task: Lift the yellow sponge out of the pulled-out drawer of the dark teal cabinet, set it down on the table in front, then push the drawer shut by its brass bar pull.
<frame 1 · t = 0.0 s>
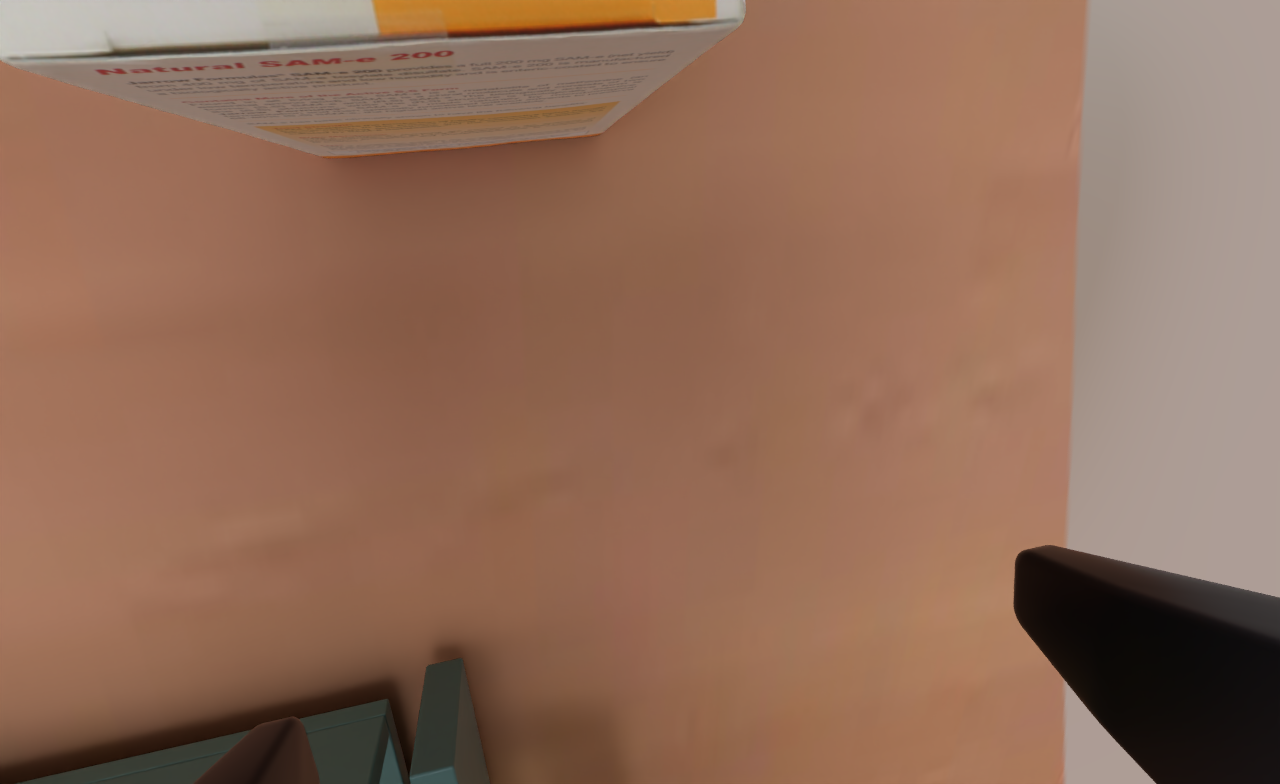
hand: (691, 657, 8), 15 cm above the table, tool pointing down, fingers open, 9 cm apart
supplement box: (450, 61, 19), on the table
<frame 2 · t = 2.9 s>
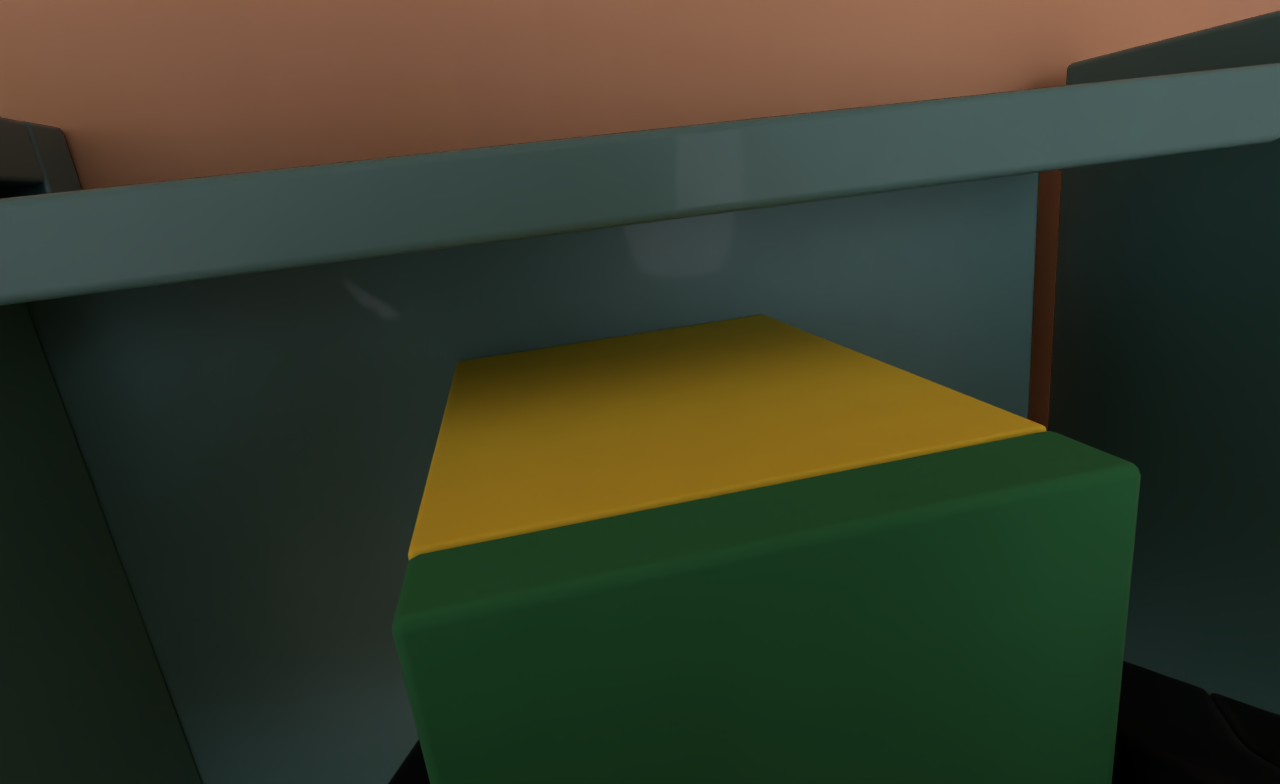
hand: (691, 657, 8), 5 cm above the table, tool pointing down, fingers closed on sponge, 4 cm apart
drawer: (845, 551, 10), point 3 cm above the table, slide at 15.5 cm, touching sponge
sponge: (642, 549, 11), point 2 cm above the table, touching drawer, gripper
when the fingers open (3 cm above the table, at t = 8.2 s): sponge stays where it is, on the table.
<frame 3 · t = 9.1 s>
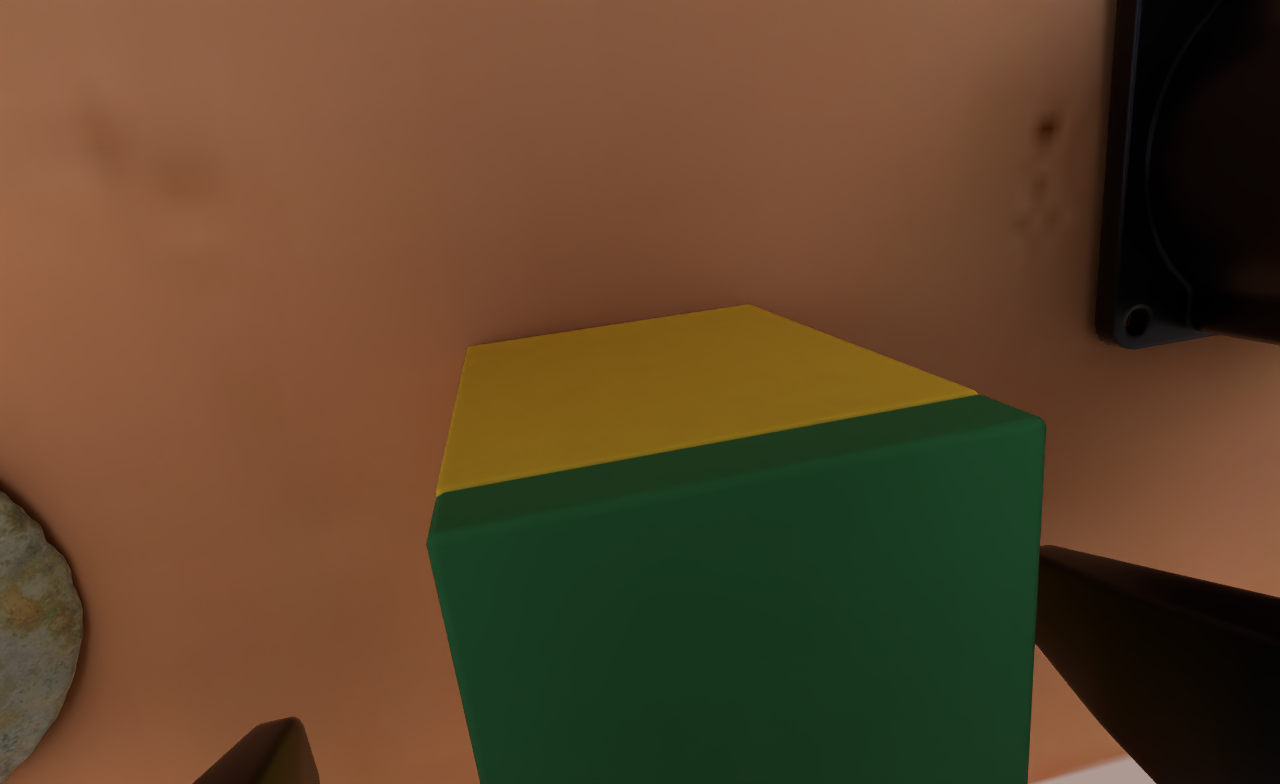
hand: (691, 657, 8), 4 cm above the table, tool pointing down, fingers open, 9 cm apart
sponge: (638, 522, 12), on the table
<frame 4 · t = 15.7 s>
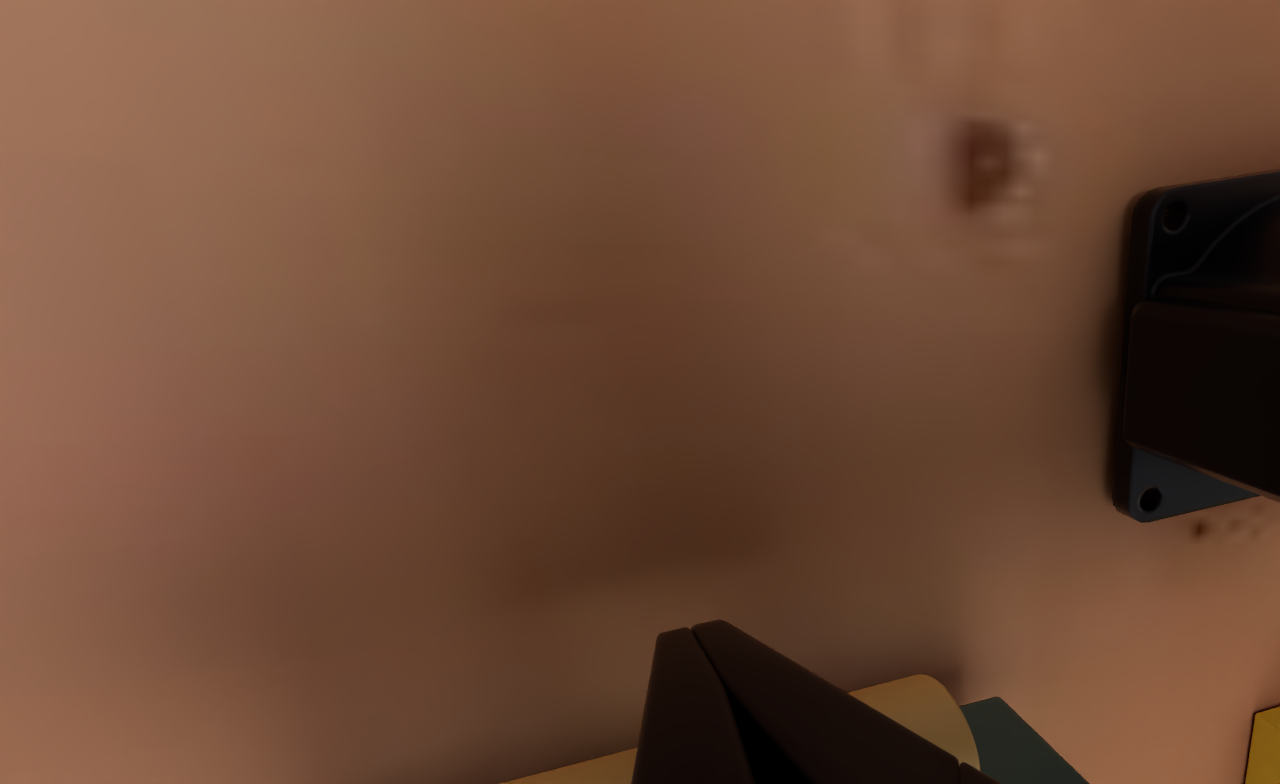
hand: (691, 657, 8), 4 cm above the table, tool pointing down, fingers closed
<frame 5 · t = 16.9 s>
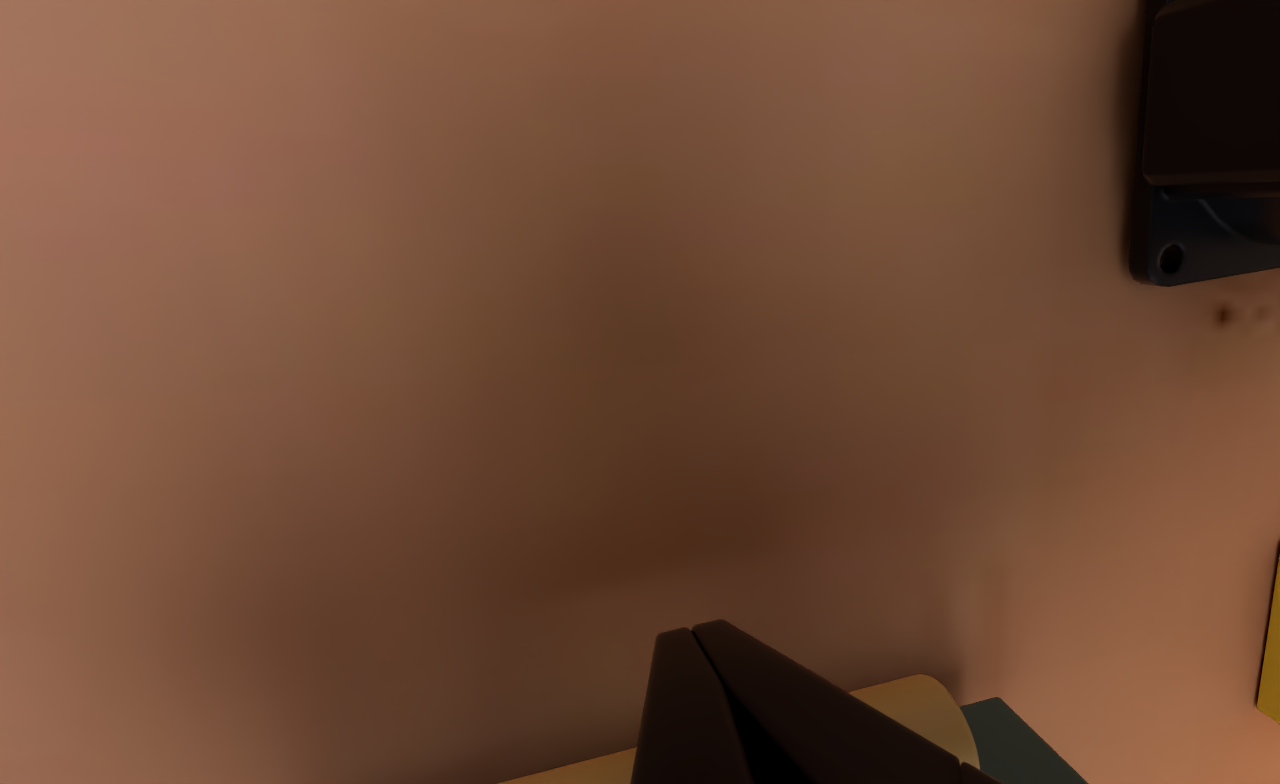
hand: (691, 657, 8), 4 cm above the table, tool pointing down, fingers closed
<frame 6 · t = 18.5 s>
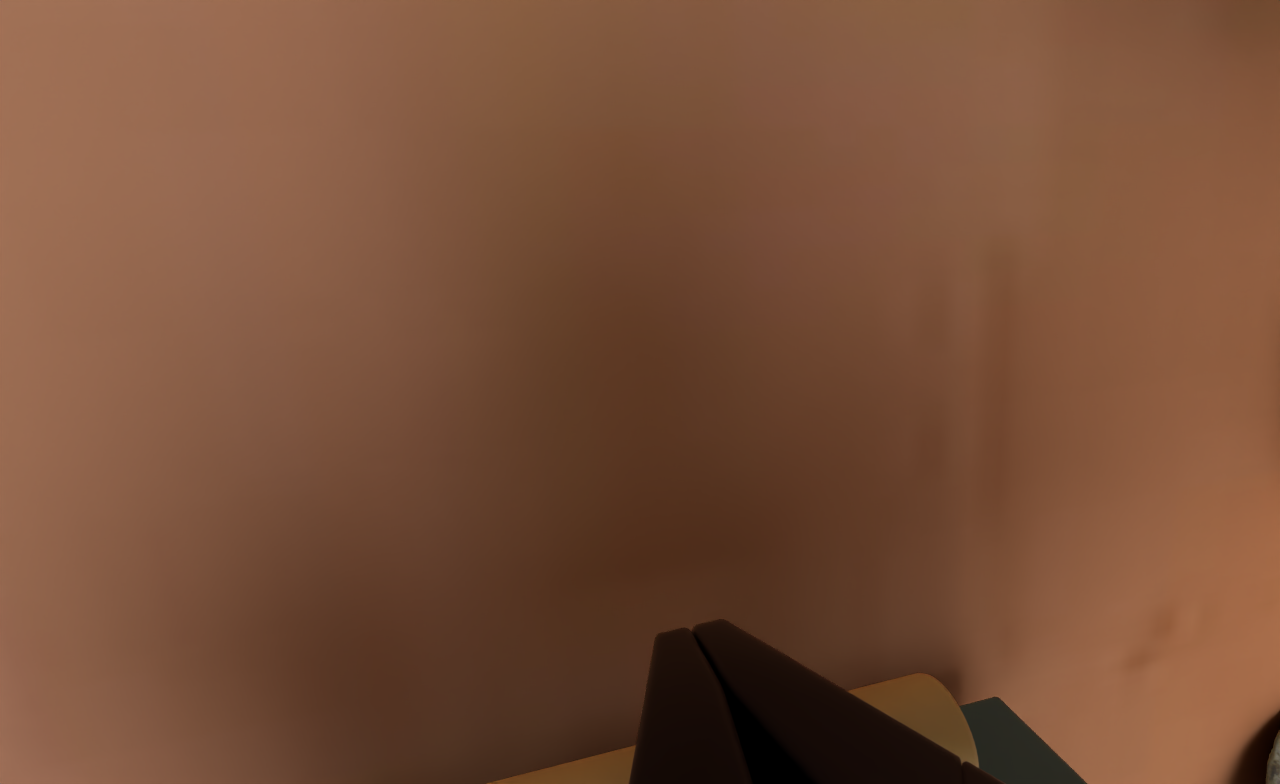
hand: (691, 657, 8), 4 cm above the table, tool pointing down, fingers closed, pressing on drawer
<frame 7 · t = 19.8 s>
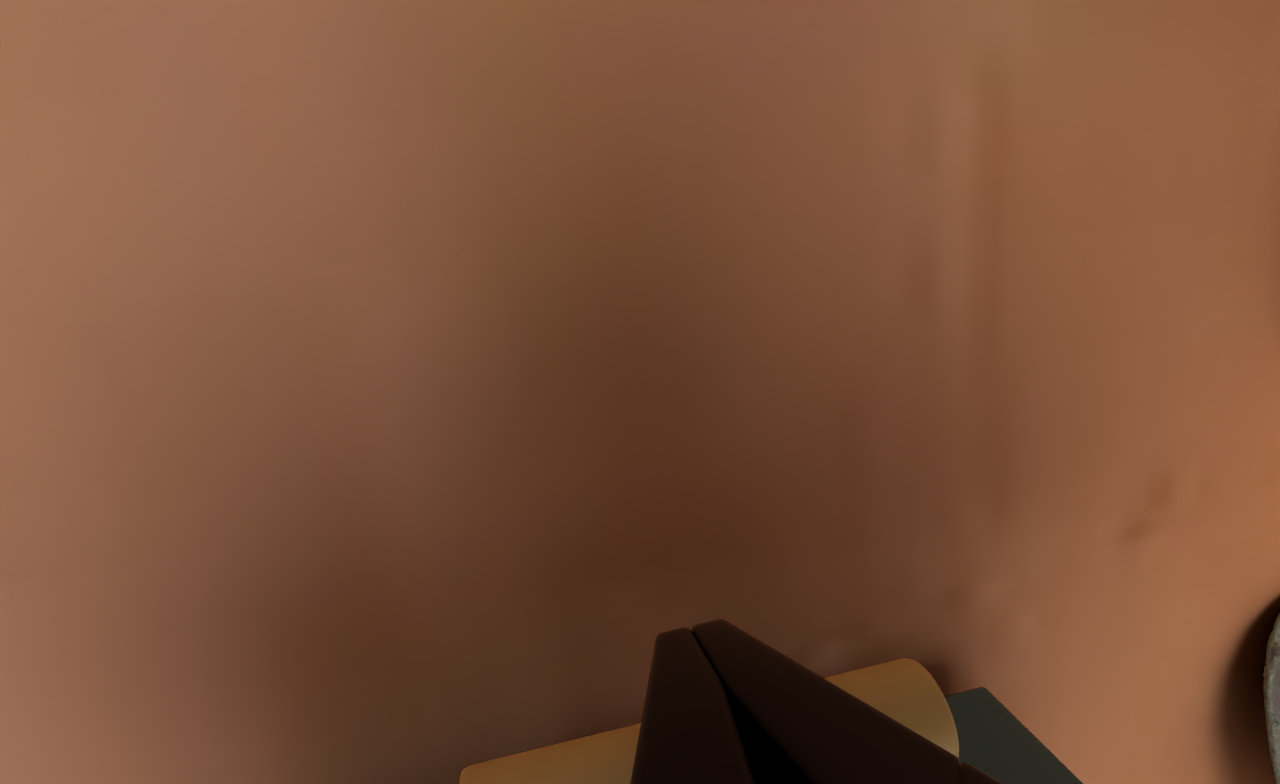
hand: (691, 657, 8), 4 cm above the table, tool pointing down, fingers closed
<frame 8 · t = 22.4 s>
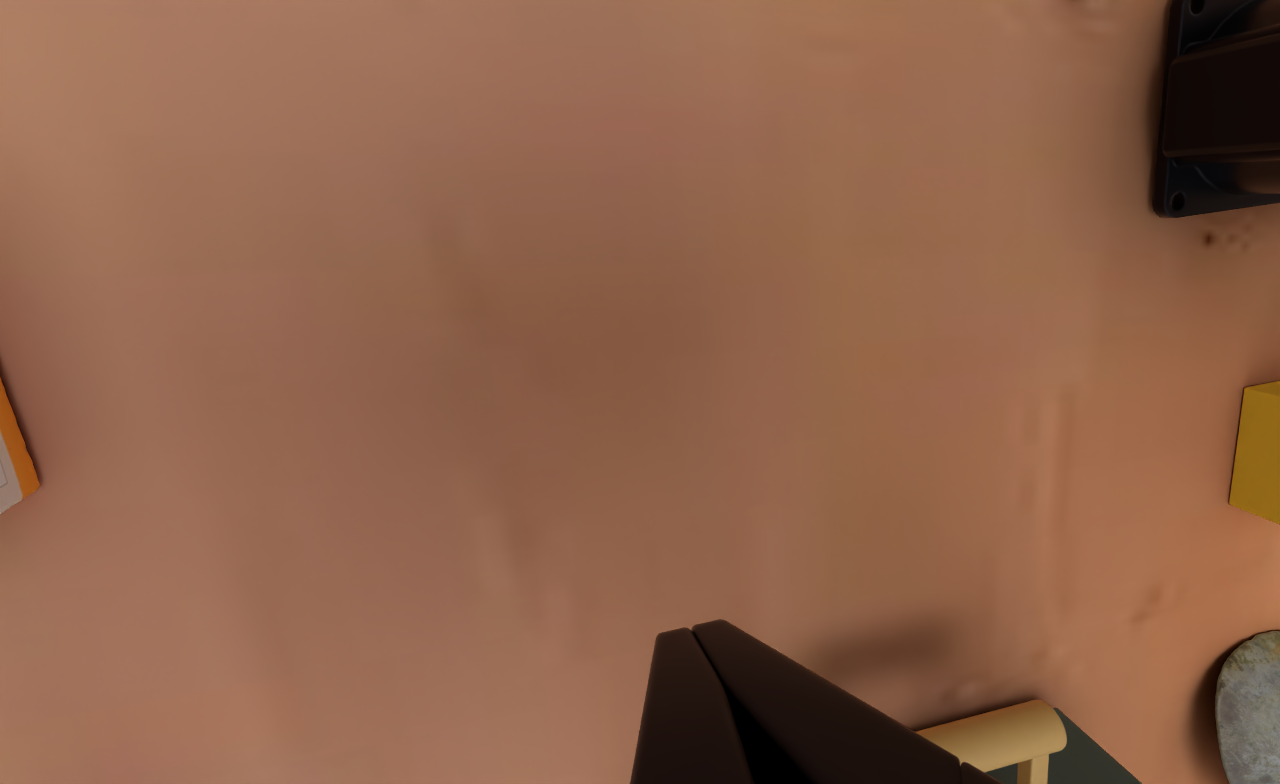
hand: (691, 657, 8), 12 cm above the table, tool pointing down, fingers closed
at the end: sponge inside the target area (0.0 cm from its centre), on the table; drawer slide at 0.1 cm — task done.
